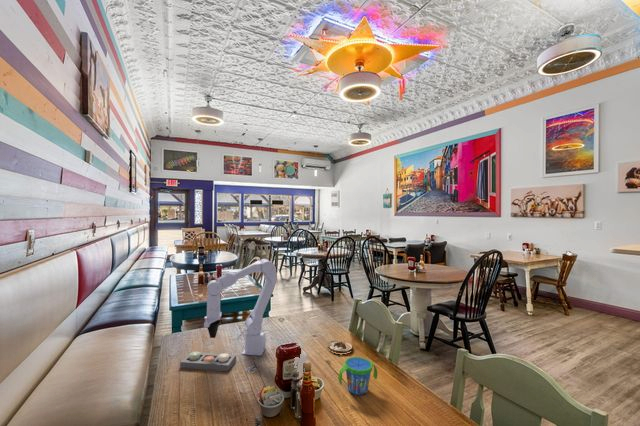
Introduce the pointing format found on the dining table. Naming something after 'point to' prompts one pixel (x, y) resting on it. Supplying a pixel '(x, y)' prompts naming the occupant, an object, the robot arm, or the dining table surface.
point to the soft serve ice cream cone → (300, 361)
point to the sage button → (194, 356)
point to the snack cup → (357, 374)
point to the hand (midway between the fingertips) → (212, 337)
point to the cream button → (223, 358)
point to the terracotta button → (209, 358)
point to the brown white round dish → (340, 346)
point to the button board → (208, 363)
